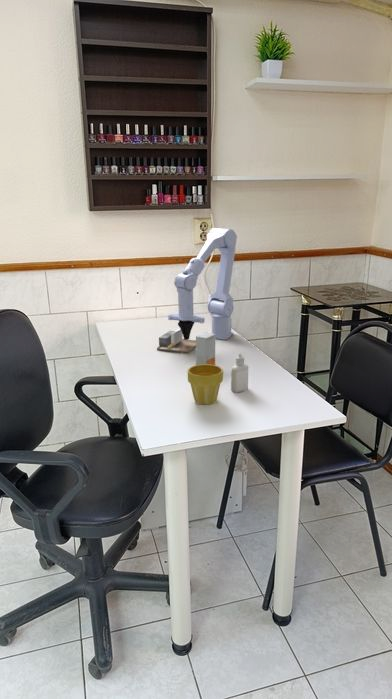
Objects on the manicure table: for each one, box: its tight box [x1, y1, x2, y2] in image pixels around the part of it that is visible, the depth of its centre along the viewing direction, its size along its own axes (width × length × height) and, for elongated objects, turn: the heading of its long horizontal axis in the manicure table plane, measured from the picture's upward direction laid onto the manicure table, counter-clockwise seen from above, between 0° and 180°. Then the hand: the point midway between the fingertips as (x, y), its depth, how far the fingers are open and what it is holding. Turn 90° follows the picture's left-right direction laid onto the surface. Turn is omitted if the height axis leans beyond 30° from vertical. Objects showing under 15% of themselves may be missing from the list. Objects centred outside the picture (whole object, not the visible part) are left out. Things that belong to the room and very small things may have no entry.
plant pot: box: [187, 364, 224, 406], centre depth 146 cm, size 10×10×10 cm
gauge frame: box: [156, 330, 196, 355], centre depth 194 cm, size 14×13×4 cm
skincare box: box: [195, 332, 216, 365], centre depth 171 cm, size 6×4×12 cm
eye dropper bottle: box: [230, 352, 249, 393], centre depth 152 cm, size 4×6×12 cm
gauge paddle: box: [168, 327, 184, 348], centre depth 193 cm, size 12×1×5 cm, turn 157°
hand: (186, 339), depth 193 cm, fingers closed
